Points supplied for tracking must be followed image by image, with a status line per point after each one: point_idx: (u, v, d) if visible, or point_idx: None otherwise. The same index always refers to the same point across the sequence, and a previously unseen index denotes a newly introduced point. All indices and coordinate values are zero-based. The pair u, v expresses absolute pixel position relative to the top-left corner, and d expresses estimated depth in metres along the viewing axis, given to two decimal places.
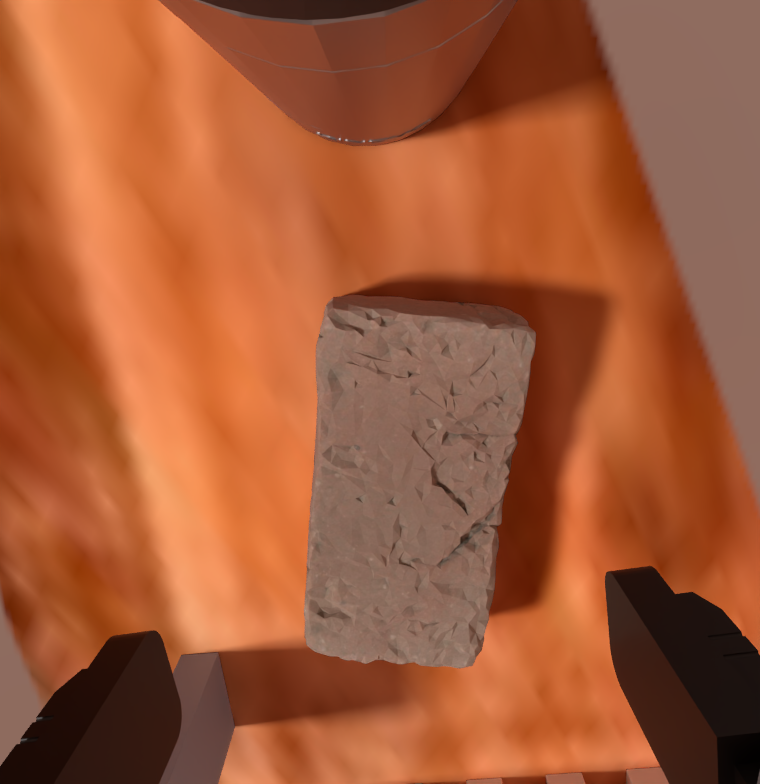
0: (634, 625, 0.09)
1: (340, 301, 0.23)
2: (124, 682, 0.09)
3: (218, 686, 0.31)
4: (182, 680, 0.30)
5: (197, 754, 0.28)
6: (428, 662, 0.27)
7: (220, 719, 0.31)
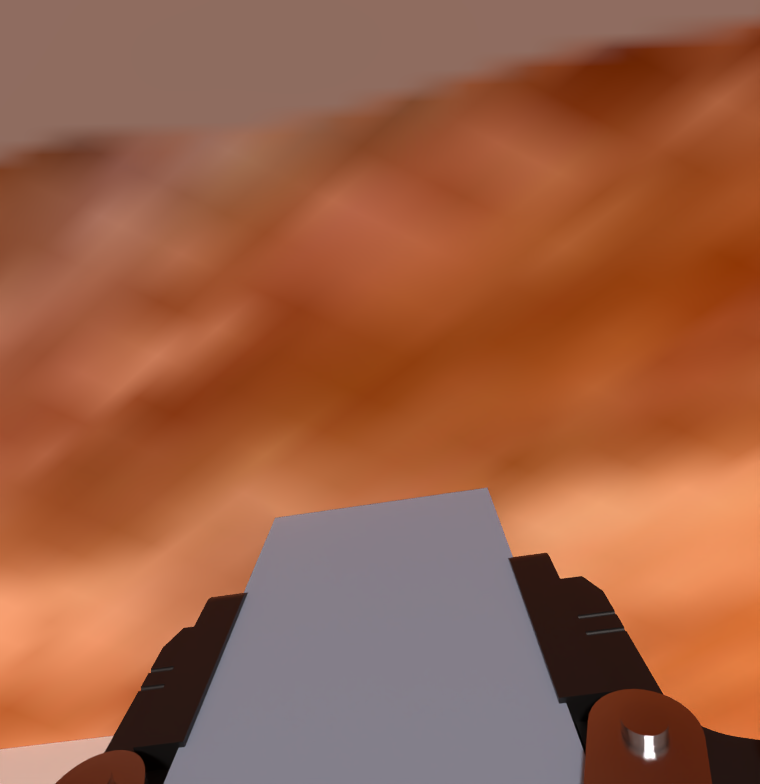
0: None
1: None
2: None
3: None
4: None
5: None
6: None
7: None
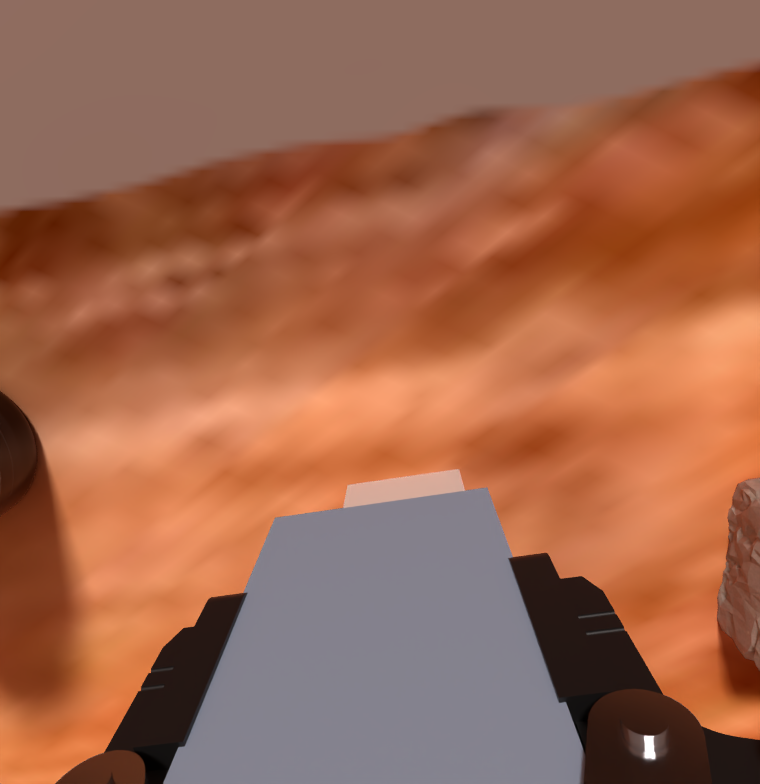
0: None
1: None
2: None
3: None
4: None
5: None
6: None
7: None
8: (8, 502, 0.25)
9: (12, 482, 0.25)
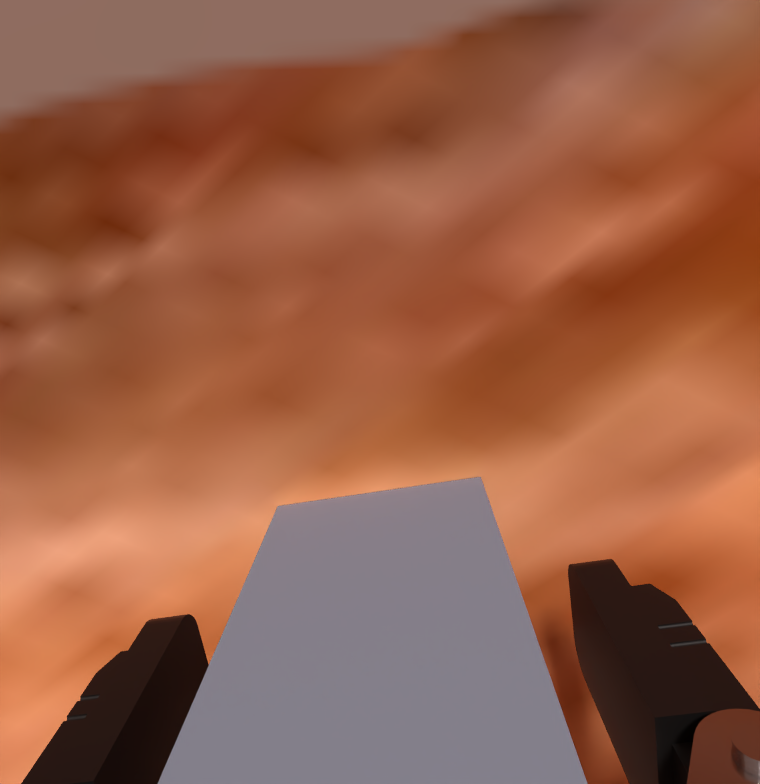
0: (591, 615, 0.09)
1: None
2: (164, 662, 0.10)
3: None
4: None
5: None
6: None
7: None
8: None
9: None
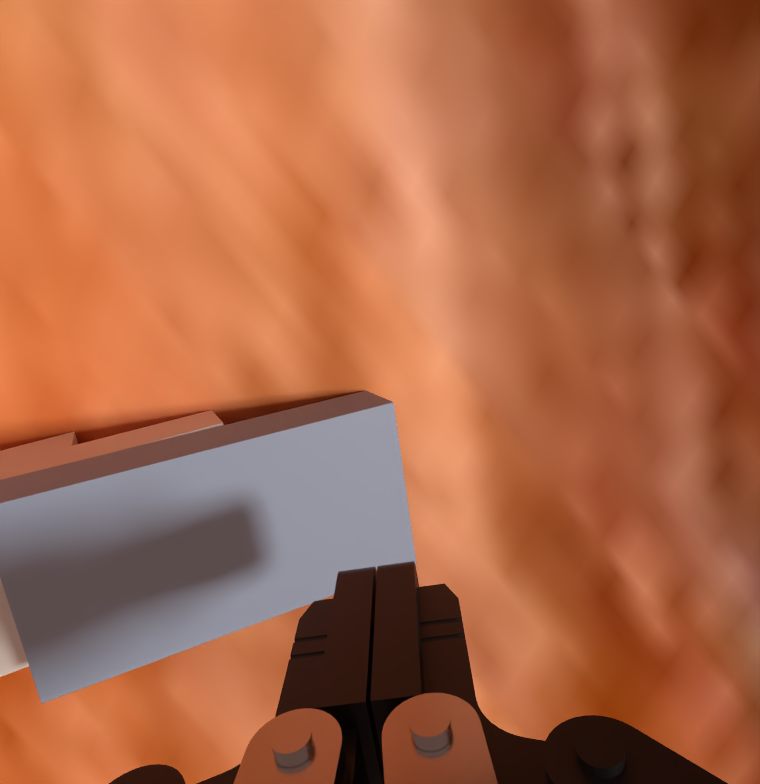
0: None
1: None
2: (372, 607, 0.10)
3: None
4: None
5: None
6: None
7: None
8: None
9: None
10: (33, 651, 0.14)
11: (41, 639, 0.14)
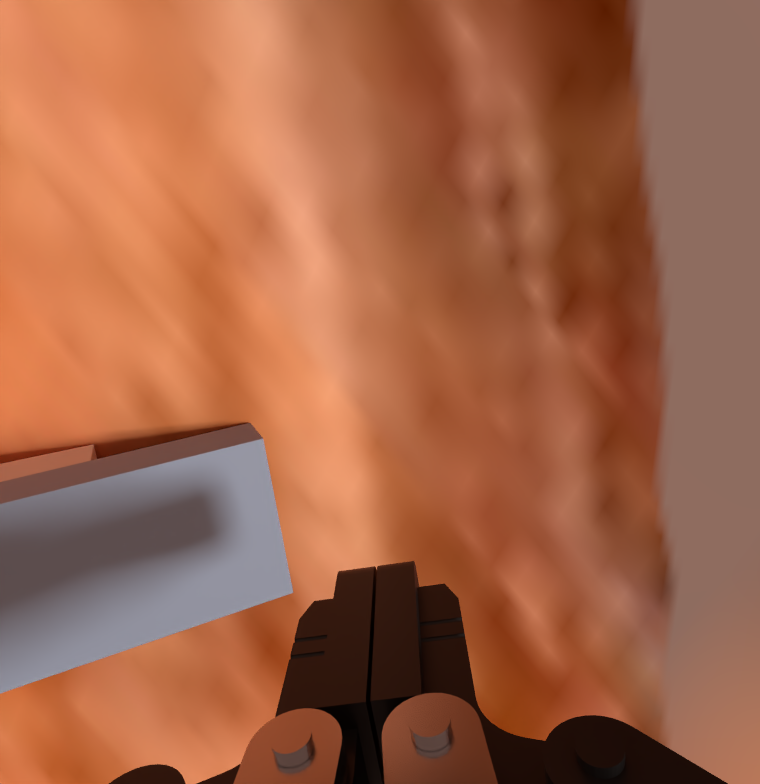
0: None
1: None
2: (373, 607, 0.10)
3: None
4: None
5: None
6: None
7: None
8: None
9: None
10: None
11: None
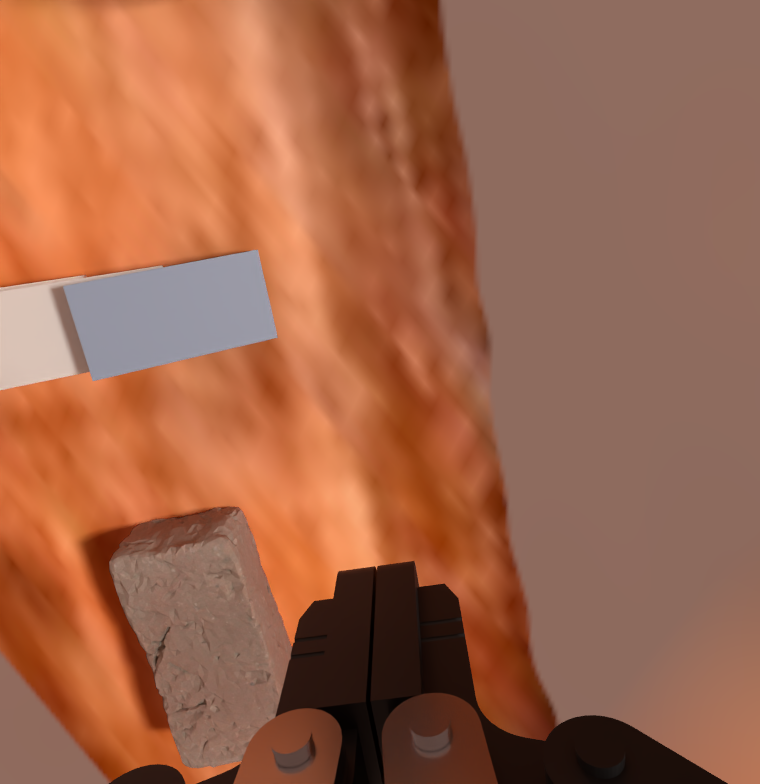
0: None
1: None
2: (372, 607, 0.10)
3: None
4: None
5: None
6: (139, 559, 0.36)
7: None
8: None
9: None
10: (88, 355, 0.31)
11: (91, 350, 0.31)
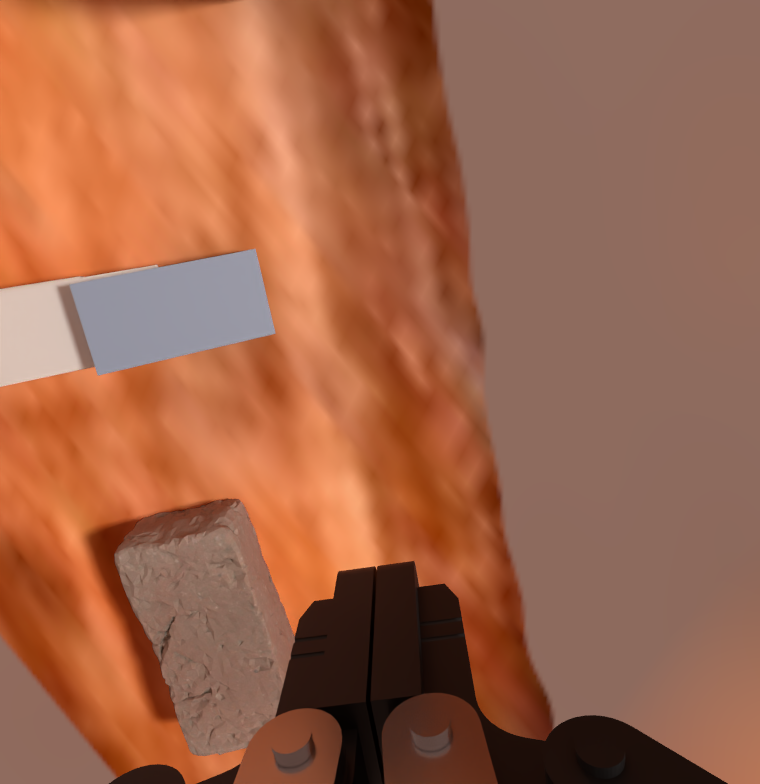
0: None
1: None
2: (372, 607, 0.10)
3: None
4: None
5: None
6: (143, 551, 0.38)
7: None
8: None
9: None
10: (93, 350, 0.33)
11: (96, 345, 0.33)
